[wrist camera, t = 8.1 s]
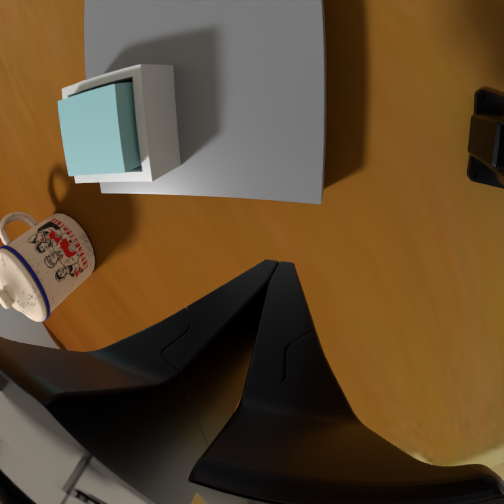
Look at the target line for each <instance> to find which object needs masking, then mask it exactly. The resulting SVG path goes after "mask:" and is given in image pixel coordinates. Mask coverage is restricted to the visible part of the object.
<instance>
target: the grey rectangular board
mask: <svg viewBox="0 0 504 504" xmlns="http://www.w3.org/2000/svg"><path fill="white" fill-rule="evenodd" d="M84 45H85V71H86V80H85V81H82V82H79V83H76V84H73V85H71V86H68V87H65V88H63V89H62V97H63V99H66V98H69V97H72V96H75V95H78V94H81V93H84V92H87V91H91V90H94V89H97V88H101V87H104V86H108V85H112V84H117V83H128V82H133V91H134V103H135V114H136V124H137V133H138V142H139V150H140V157H141V165H140V166H138V167H136V168H134V169H132V170H130V171H128V172H126V173H111V174H92V175H77V176H74V178H75V183H94V182H100V188H101V193H130V194H171V195H197V196H217V197H234V198H250V199H264V200H277V201H289V202H301V203H312V204H321V202H322V197H323V192H324V179H325V156H326V119H327V67H326V33H325V12H324V0H85V18H84Z"/></svg>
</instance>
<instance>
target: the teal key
mask: <svg viewBox="0 0 504 504" xmlns="http://www.w3.org/2000/svg"><path fill="white" fill-rule="evenodd" d="M58 110H59V118H60V126H61V134H62V140H63V147H64V153H65V158H66V164H67V169H68V174H69V176H77V175H92V174H111V173H126V172H128V171H130V170H132V169H134V168H136V167H138V166H140V165H141V157H140V150H139V142H138V133H137V124H136V114H135V103H134V91H133V82H128V83H117V84H112V85H108V86H104V87H101V88H97V89H94V90H91V91H87V92H84V93H81V94H78V95H75V96H72V97H69V98H66V99H63V100H60V101H58Z"/></svg>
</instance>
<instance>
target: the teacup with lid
mask: <svg viewBox="0 0 504 504" xmlns="http://www.w3.org/2000/svg"><path fill="white" fill-rule="evenodd" d="M14 220H21V221H24V222H26V223H27V224H28V225H29V226H30V227H31V229H30V230H28V231H27V232H25V233H24V234H22V235H21V236H19V237H18V238H17V239H15V240H14V241H11V240H10V238H9V237H8V235H7V233H6V230H5V225H6V224H7V223H9V222H11V221H14ZM0 237H1V240H2V241H3V243H4V245H3V246H1V247H0V288H1V290H0V303H1V305H2V306H3V307H4V308H5V309H9V308H10V307H11V306H13V307H14V308H15V309H16V310H18V311H20V312H22V313H24V314H25V315H26V316H27V317H29V318H30V319H32V320H34V321H38V322H39V321H44V320H46V319H48V318H49V316H50V313H51V312H52V311H53V310H54V309H55V308H56V307H57V306H58V305H59V304H60V303H61V302H62V301H63V300H64V299H65V298H66V297H67V296H68V295H69V294H70V293H71V292H73V291H74V290H75V289H76V288H77V287H78V286H79V285H80V284H81V283H82V282H83V281H84V280H86V279H87V278H88V277H89V276H90V275H91V274H92V272H93V270H94V266H95V257H94V252H93V248H92V245H91V243H90V241H89V239H88V237H87V235H86V233H85V232H84V230H83V229H82V228H81V227H80V225H79V224H78V223H77V222H76V221H75V220H73V219H72V218H71V217H69V216H67V215H65V214H61V213H57V214H54V215H52V216H50V217H48V218H47V219H45V220H44V221H42V222H41V223H39V224H38V223H37V222H36V220H35V219H34V218H33V217H32V216H31V215H29V214H27V213H25V212H12V213H9V214H8V215H6V216H5V217H4V218H3V219H2V221H1V223H0Z"/></svg>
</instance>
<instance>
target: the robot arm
mask: <svg viewBox="0 0 504 504" xmlns="http://www.w3.org/2000/svg"><path fill="white" fill-rule="evenodd" d="M480 94H483V96H484V99H483V100H481V99H480ZM468 152H469V154H470V155H469V162H468V169H467V176H468V178H469V179H470V180H471V181H473V182H478V183H482V184H486V185H491V186H495V187H499V188H503V189H504V97H502V96H499V95H497V94H494V93H491V92H488V91H485V90H477V91H476V92H475V100H474V114H473V115H472V116H471V124H470V135H469V144H468ZM474 171H475V172H476V174H475V176H474V177H472V172H474ZM241 395H242V396H241ZM240 398H241V400H240ZM239 400H240V403H239V405H238V402H239ZM237 405H238V407H237ZM236 407H237V409H236ZM235 409H236V411H235ZM234 411H235V412H234ZM196 492H197V493H198V494H199V495H200V496H201V497H202V498H203V499H204V501H205V502H206V503H207V504H504V481H503V480H502V479H501V477H500V476H498V475H497V474H496V473H495V472H493V471H492V470H491V469H490V468H488V467H487V466H485V465H481V464H468V465H460V466H435V465H430V464H427V463H424V462H421V461H419V460H417V459H415V458H413V457H412V456H410V455H408V454H407V453H405V452H404V451H402V450H401V449H399V448H397V447H396V446H394V445H393V444H391V443H390V442H388V441H387V440H385V439H384V438H382V437H381V436H379V435H378V434H376V433H375V432H373V431H372V430H370V429H369V428H367V427H366V426H365V425H364V424H363V423H362V422H361V421H360V420H359V419H358V418H357V416H356V415H355V413H354V412H353V410H352V408H351V406H350V404H349V403H348V401H347V399H346V397H345V395H344V393H343V391H342V389H341V387H340V385H339V383H338V381H337V379H336V377H335V375H334V373H333V371H332V369H331V367H330V365H329V363H328V361H327V359H326V357H325V354H324V352H323V349H322V346H321V344H320V341H319V338H318V335H317V332H316V329H315V326H314V323H313V320H312V316H311V313H310V310H309V307H308V304H307V301H306V298H305V295H304V292H303V289H302V286H301V283H300V280H299V277H298V274H297V271H296V268H295V265H294V263H291V262H283V261H282V262H280V263H279V262H278V261H274V260H264V261H262V262H261V263H259V264H257V265H256V266H254V267H253V268H251V269H249V270H248V271H246V272H244V273H243V274H241V275H239V276H238V277H236V278H234V279H232V280H231V281H229V282H227V283H226V284H224V285H222V286H221V287H219V288H217V289H216V290H214V291H212V292H211V293H209V294H207V295H206V296H204V297H202V298H201V299H199V300H197V301H195V302H194V303H192V304H190V305H189V306H187V307H186V308H183V309H182V310H180V311H178V312H177V313H175V314H173V315H171V316H170V317H168V318H166V319H164V320H162V321H161V322H159V323H157V324H155V325H152V326H150V327H148V328H146V329H144V330H142V331H140V332H138V333H136V334H134V335H131V336H129V337H127V338H125V339H123V340H120V341H118V342H116V343H114V344H112V345H109V346H107V347H105V348H102V349H99V350H95V351H90V352H77V351H69V350H62V349H55V348H48V347H42V346H36V345H31V344H25V343H20V342H16V341H11V340H8V339H5V338H2V337H0V504H191V502H192V500H193V497H194V496H195V494H196Z"/></svg>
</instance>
